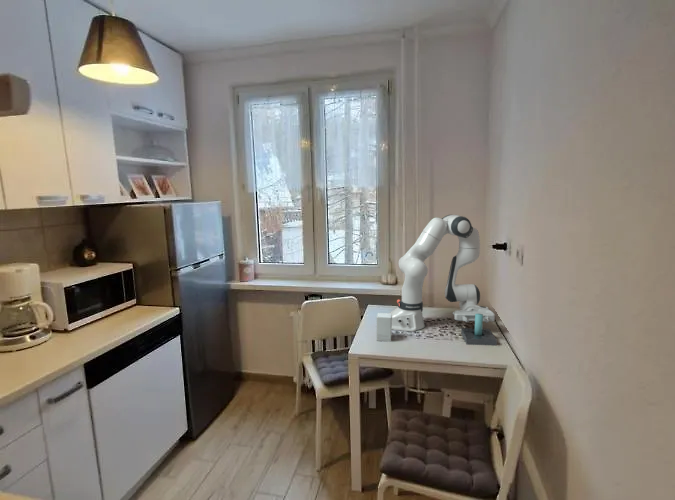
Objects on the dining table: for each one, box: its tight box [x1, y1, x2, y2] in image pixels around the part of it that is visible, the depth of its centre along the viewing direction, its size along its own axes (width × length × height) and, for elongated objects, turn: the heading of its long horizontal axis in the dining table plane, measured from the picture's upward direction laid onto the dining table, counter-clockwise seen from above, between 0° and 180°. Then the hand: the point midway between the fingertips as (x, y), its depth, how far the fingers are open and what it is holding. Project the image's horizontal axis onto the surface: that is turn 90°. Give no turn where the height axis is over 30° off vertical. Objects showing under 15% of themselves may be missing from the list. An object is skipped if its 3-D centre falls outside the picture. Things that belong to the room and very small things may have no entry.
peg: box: [474, 313, 484, 336], centre depth 189 cm, size 4×4×13 cm
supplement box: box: [376, 312, 393, 343], centre depth 193 cm, size 7×7×13 cm
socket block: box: [460, 327, 498, 346], centre depth 190 cm, size 14×14×3 cm
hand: (477, 321), depth 192 cm, fingers open, 8 cm apart
